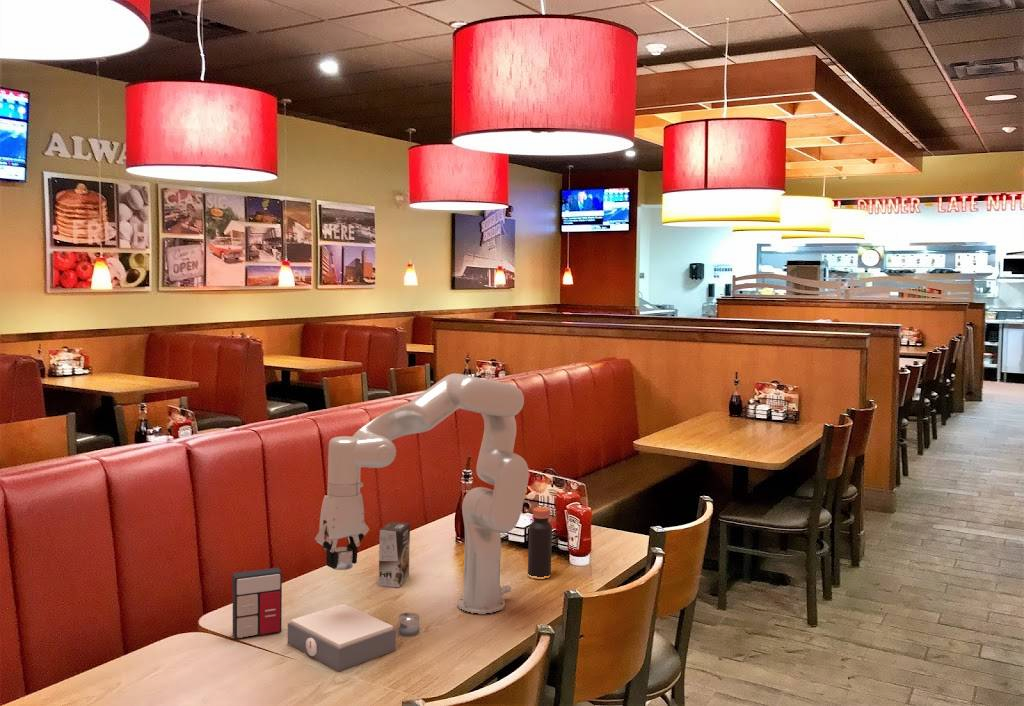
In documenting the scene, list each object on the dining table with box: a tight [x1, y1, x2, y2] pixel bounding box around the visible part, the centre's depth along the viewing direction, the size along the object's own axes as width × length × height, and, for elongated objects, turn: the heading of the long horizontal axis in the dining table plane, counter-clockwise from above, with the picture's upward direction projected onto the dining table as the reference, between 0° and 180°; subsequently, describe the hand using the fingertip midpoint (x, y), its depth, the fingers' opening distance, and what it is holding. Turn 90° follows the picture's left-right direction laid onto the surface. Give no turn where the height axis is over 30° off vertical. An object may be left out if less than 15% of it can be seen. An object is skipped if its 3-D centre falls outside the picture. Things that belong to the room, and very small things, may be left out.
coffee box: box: [378, 521, 411, 588], centre depth 247 cm, size 9×6×16 cm
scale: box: [287, 603, 397, 672], centre depth 202 cm, size 17×20×6 cm
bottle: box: [527, 506, 553, 577], centre depth 254 cm, size 7×7×20 cm
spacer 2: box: [397, 612, 420, 637], centre depth 212 cm, size 5×5×4 cm
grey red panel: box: [231, 567, 283, 639], centre depth 208 cm, size 11×4×15 cm, turn 117°
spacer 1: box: [331, 546, 354, 571], centre depth 207 cm, size 5×5×4 cm
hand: (341, 563), depth 207 cm, fingers closed on spacer 1, 5 cm apart
